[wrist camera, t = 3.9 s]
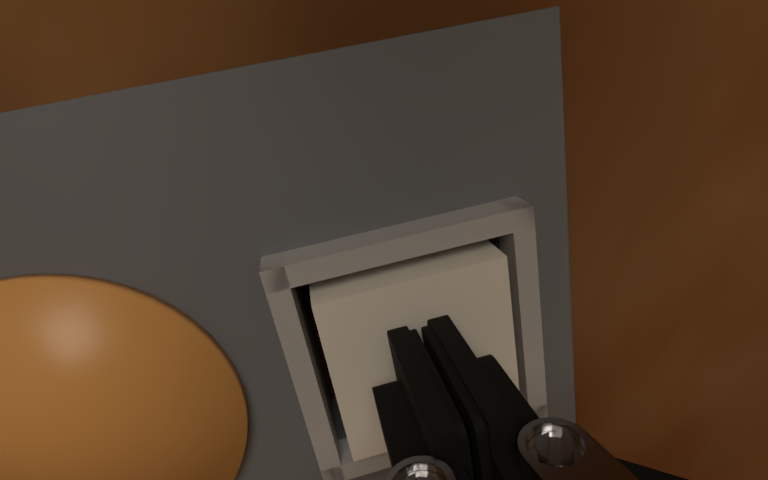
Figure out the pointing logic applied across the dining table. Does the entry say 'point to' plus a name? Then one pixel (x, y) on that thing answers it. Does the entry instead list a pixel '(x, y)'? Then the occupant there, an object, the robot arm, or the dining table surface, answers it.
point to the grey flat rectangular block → (265, 246)
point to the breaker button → (408, 324)
